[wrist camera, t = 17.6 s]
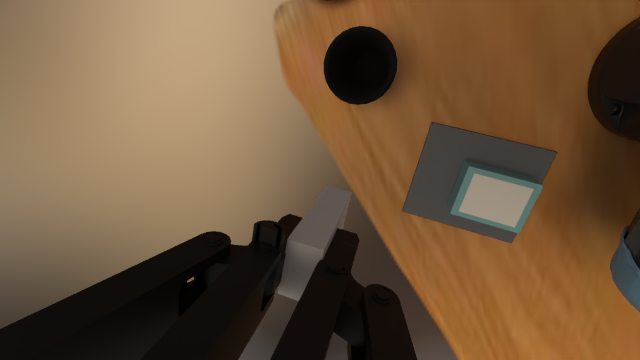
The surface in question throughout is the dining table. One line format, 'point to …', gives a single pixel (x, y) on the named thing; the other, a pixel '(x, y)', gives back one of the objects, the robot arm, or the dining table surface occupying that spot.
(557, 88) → the dining table surface
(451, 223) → the mat
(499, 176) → the card box
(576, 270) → the dining table surface
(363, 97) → the cup
